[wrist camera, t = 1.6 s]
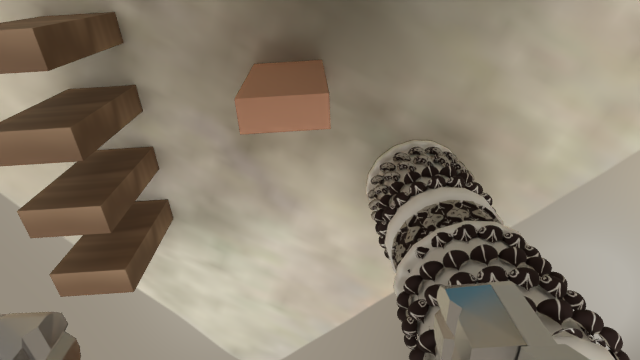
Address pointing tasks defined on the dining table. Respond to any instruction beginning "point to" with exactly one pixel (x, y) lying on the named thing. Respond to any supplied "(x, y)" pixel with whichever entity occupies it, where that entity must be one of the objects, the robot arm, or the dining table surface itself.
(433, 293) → the decorative candle
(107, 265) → the domino
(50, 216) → the domino
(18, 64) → the domino
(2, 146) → the domino
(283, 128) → the domino
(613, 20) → the dining table surface
